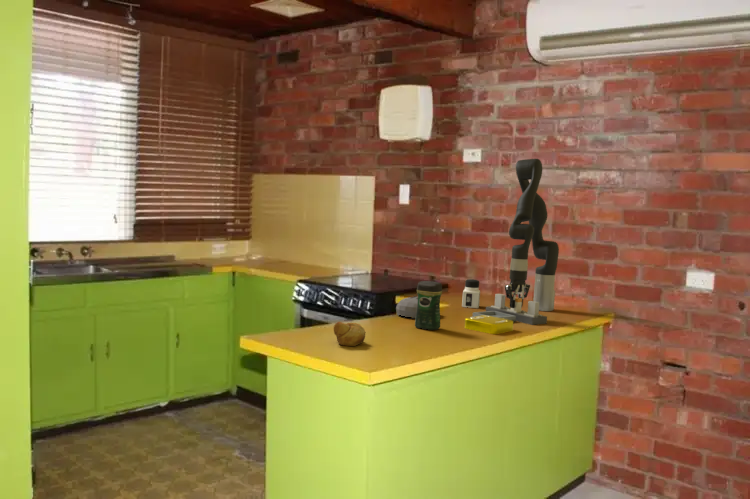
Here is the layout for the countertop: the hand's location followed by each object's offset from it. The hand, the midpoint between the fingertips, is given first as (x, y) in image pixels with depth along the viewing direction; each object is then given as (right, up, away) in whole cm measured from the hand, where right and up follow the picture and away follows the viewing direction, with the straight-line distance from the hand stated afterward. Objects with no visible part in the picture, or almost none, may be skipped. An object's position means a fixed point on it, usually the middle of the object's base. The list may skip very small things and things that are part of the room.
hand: (516, 307), depth 304 cm
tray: (-11, -5, -7) cm, 14 cm away
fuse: (+5, -6, -8) cm, 11 cm away
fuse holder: (0, -5, 0) cm, 5 cm away
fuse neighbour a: (-6, -4, +9) cm, 11 cm away
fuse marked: (0, -5, 0) cm, 5 cm away
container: (-16, -2, +26) cm, 30 cm away
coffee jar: (-42, -6, -33) cm, 53 cm away
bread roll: (-70, -7, -67) cm, 97 cm away
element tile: (-17, -7, -28) cm, 33 cm away
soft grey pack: (-45, -3, -6) cm, 45 cm away
